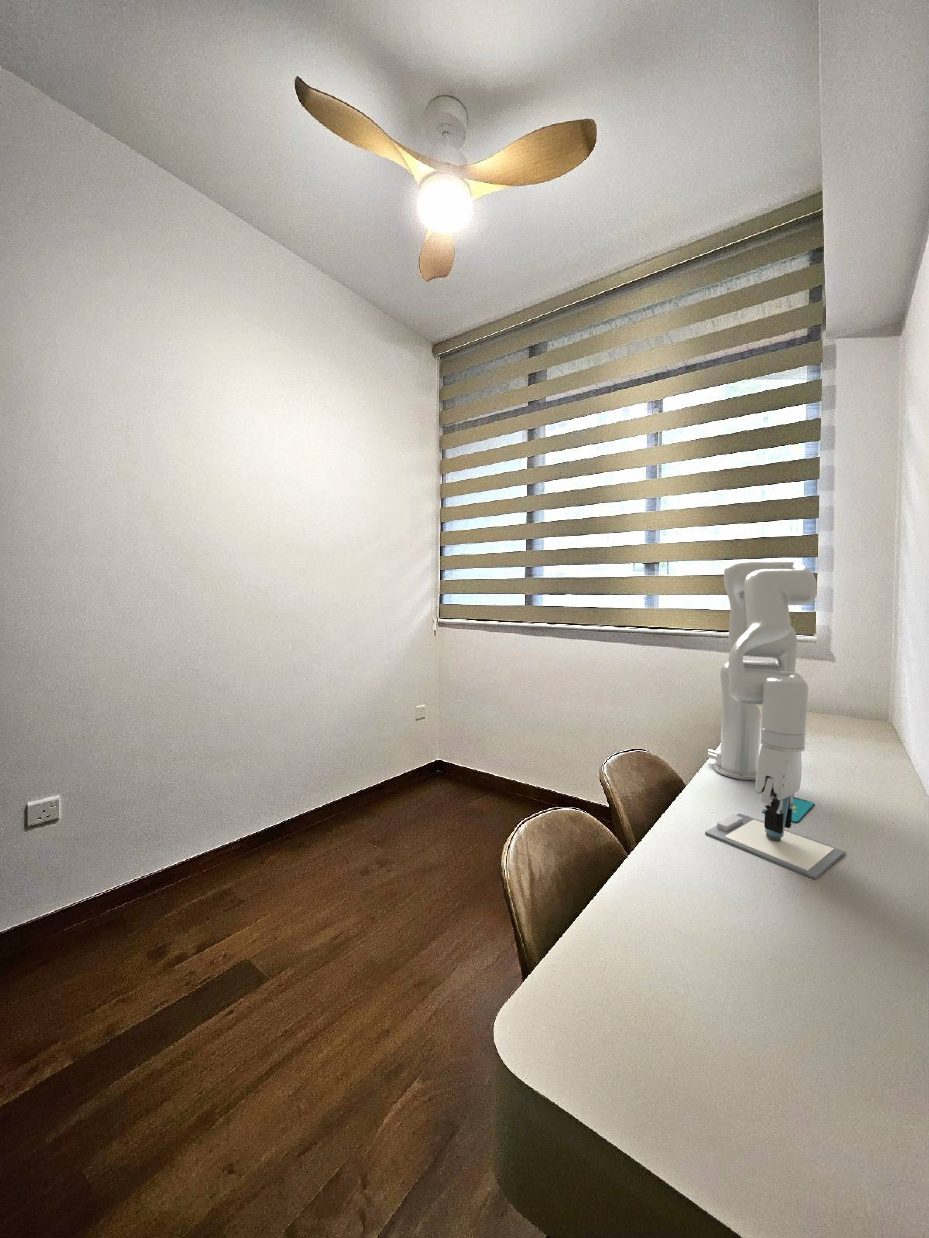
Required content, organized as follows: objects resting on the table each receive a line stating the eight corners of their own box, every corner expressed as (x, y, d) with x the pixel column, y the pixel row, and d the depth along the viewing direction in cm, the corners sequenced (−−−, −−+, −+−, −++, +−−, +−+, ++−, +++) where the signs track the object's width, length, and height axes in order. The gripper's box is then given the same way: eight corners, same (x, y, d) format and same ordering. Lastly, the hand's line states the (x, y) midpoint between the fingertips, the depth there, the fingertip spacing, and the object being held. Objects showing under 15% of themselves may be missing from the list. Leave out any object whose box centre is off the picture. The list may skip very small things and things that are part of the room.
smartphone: (760, 810, 115) (781, 792, 126) (760, 814, 116) (780, 796, 126) (797, 822, 110) (815, 802, 120) (797, 825, 110) (815, 806, 120)
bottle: (761, 835, 102) (769, 785, 101) (768, 831, 104) (776, 781, 103) (778, 843, 100) (787, 792, 98) (785, 839, 102) (793, 788, 100)
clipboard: (704, 833, 105) (705, 827, 105) (739, 815, 114) (739, 808, 114) (815, 879, 89) (815, 871, 89) (844, 853, 98) (845, 846, 98)
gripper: (779, 727, 108) (775, 810, 109) (743, 740, 98) (738, 831, 99) (820, 736, 102) (815, 824, 103) (785, 751, 92) (780, 847, 93)
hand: (777, 827), depth 101 cm, fingers closed on bottle, 3 cm apart
